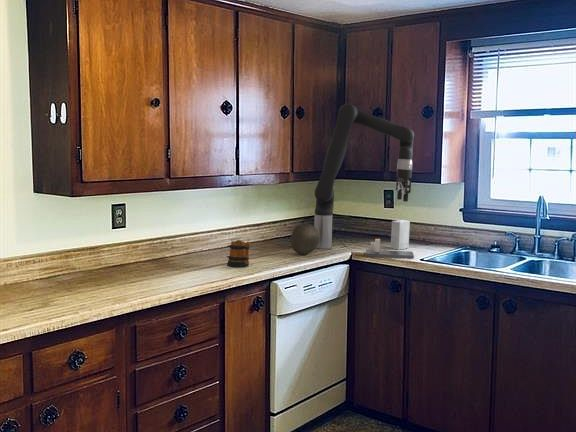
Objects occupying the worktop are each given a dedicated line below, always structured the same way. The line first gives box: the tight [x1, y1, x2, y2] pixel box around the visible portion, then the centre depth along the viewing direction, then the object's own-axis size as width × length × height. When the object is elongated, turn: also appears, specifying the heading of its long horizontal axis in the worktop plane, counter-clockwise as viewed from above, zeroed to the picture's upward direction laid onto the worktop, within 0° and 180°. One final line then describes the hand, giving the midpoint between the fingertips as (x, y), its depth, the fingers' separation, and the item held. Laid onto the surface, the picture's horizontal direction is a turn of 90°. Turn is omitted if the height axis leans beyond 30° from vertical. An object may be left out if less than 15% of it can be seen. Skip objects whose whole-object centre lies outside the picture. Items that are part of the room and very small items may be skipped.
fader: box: [374, 238, 381, 252], centre depth 315 cm, size 2×3×6 cm
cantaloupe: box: [290, 223, 320, 256], centre depth 311 cm, size 14×14×15 cm
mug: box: [226, 239, 251, 269], centre depth 280 cm, size 13×10×12 cm
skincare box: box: [390, 219, 411, 251], centre depth 336 cm, size 8×6×15 cm
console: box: [365, 241, 415, 259], centre depth 315 cm, size 23×12×6 cm, turn 83°
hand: (402, 200), depth 323 cm, fingers open, 8 cm apart
